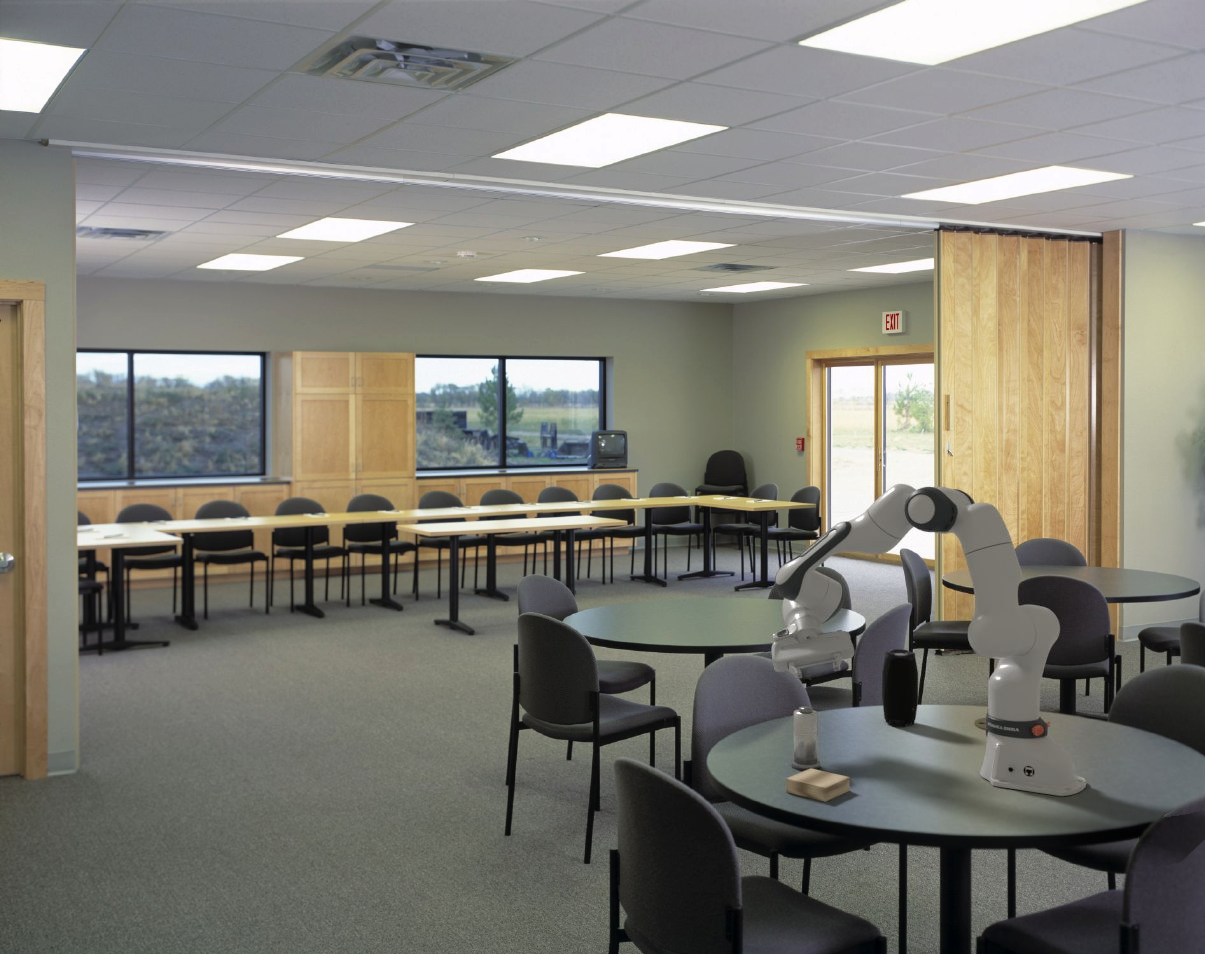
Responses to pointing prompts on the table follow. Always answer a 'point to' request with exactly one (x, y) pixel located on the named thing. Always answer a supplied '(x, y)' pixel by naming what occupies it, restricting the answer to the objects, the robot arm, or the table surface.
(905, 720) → the portable speaker
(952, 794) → the table surface
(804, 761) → the cylinder
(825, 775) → the stand
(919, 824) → the table surface
